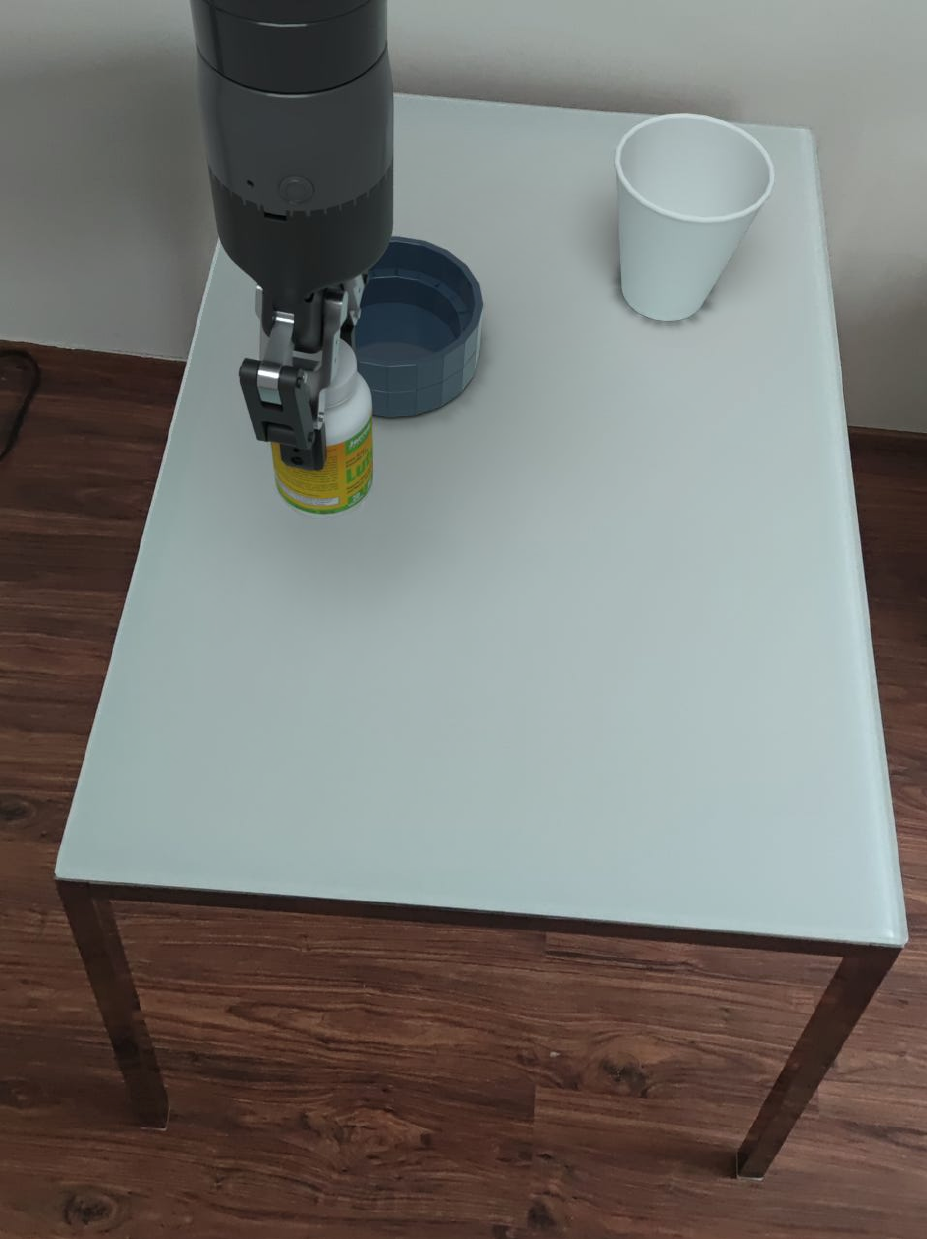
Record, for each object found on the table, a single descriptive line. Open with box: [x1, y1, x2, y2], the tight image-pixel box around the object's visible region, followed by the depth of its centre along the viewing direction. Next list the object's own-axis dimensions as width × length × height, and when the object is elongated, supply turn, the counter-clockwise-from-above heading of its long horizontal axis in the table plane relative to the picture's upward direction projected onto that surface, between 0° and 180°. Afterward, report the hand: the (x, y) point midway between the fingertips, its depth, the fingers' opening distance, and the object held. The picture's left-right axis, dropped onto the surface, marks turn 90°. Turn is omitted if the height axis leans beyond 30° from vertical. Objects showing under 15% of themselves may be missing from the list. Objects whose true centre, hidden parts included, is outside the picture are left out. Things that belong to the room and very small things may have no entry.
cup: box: [613, 112, 776, 322], centre depth 94 cm, size 12×12×12 cm
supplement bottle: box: [270, 339, 374, 520], centre depth 64 cm, size 5×5×10 cm
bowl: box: [355, 235, 484, 418], centre depth 92 cm, size 13×13×6 cm
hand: (319, 417), depth 63 cm, fingers closed on supplement bottle, 5 cm apart
